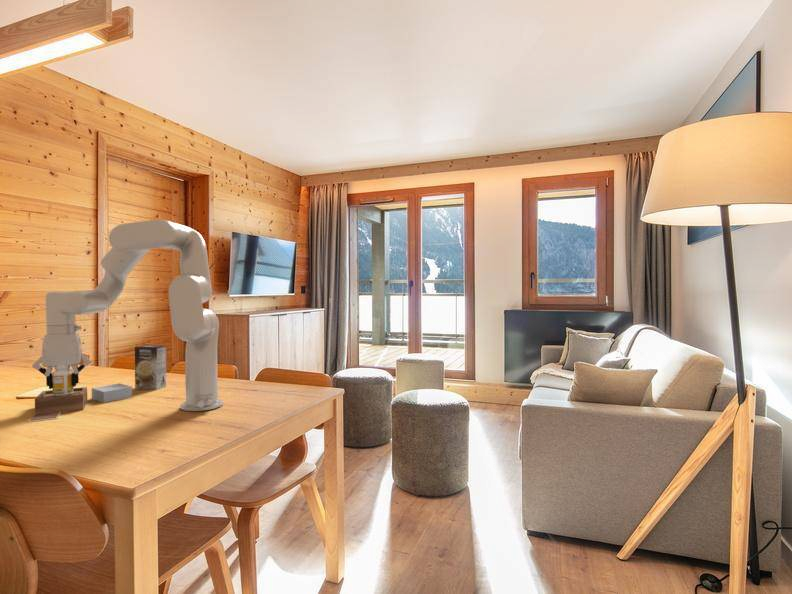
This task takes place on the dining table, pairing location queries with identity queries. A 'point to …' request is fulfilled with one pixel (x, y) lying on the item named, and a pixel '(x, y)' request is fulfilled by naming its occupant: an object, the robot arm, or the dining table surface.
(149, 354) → the coffee box
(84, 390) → the walnut tray
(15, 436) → the dining table surface
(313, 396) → the dining table surface
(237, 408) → the dining table surface
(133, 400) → the dining table surface
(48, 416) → the swatch
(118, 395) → the slate block
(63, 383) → the supplement bottle
